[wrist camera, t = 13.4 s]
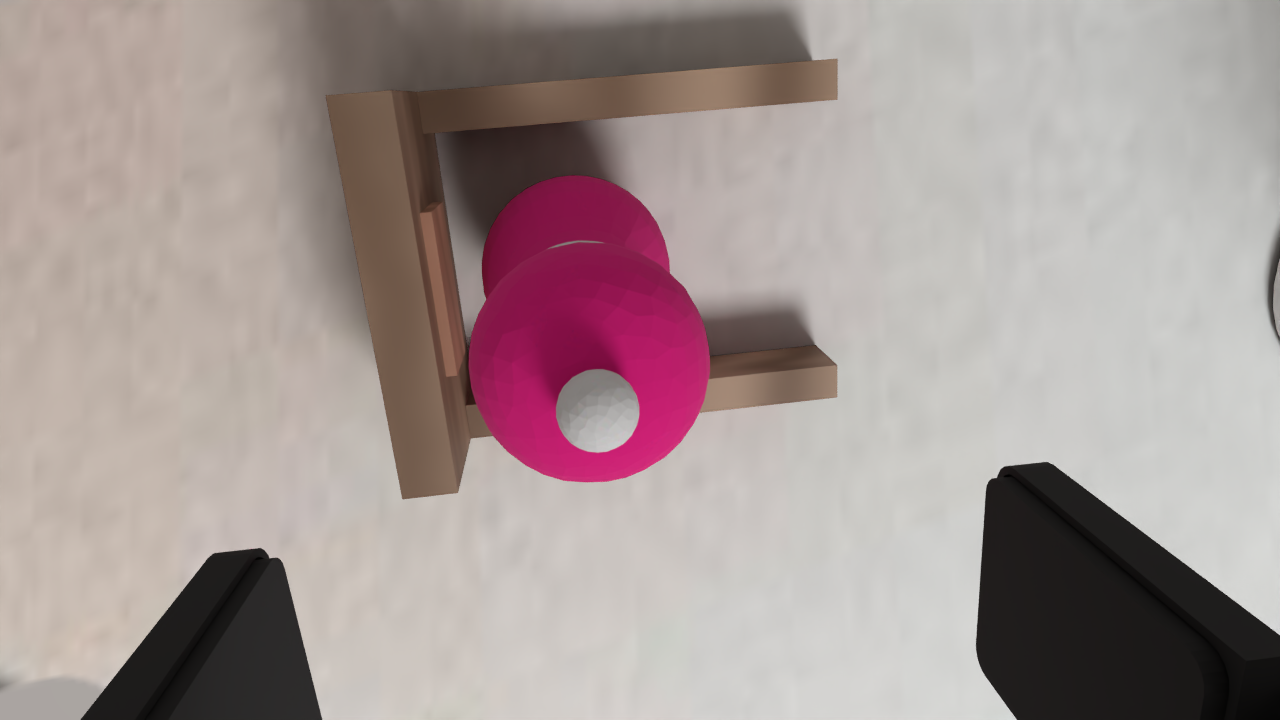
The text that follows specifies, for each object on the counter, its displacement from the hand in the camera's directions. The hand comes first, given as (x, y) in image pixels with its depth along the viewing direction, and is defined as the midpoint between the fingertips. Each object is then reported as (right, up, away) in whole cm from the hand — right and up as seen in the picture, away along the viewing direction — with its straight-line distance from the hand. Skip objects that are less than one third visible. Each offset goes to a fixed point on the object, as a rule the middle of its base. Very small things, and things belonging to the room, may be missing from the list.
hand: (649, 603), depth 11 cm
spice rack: (-1, +8, +25) cm, 26 cm away
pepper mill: (-3, +8, +25) cm, 26 cm away
